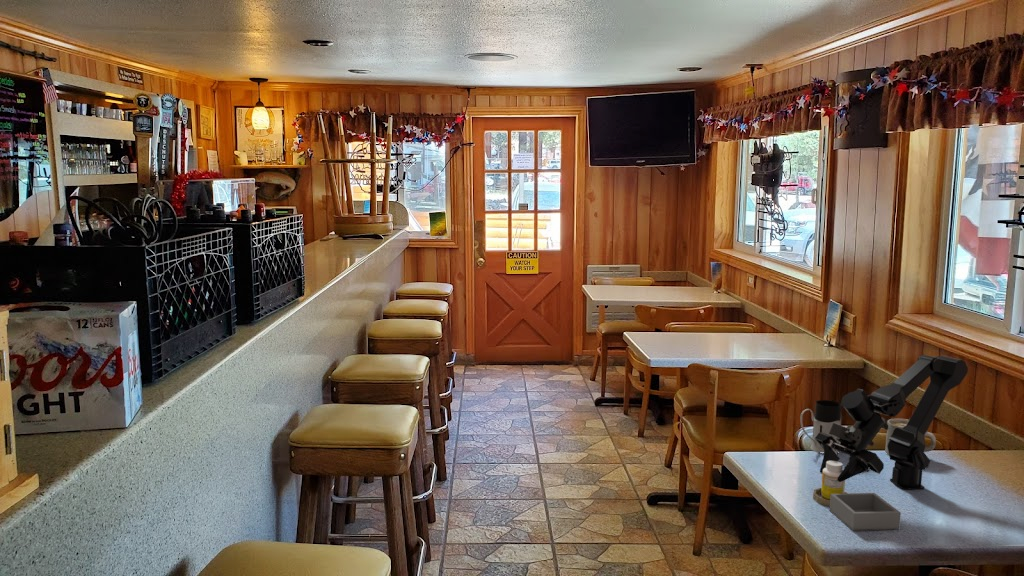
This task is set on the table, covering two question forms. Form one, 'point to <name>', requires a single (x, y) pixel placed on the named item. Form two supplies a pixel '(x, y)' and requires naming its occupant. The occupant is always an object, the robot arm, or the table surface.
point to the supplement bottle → (832, 479)
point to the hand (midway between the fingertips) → (829, 476)
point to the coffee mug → (900, 424)
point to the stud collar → (820, 499)
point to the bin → (864, 512)
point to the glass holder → (823, 420)
